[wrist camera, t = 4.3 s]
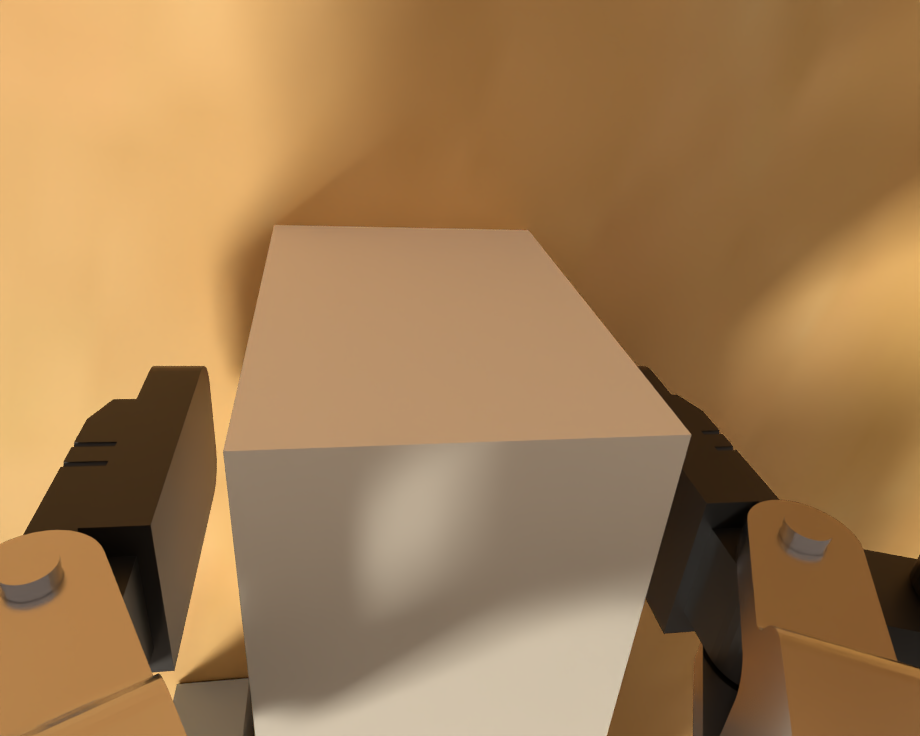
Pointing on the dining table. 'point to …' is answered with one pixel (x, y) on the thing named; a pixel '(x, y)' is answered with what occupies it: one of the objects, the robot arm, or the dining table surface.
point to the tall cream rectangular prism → (439, 489)
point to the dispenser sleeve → (215, 708)
